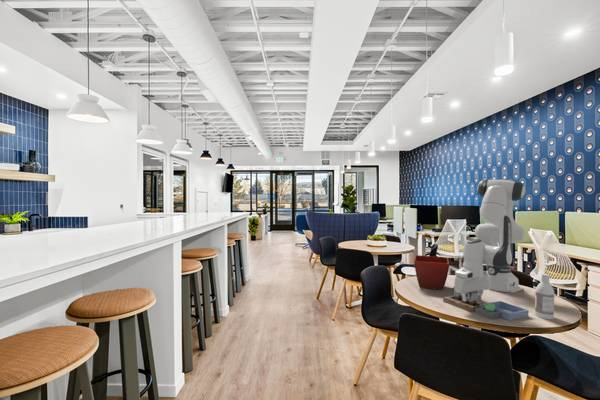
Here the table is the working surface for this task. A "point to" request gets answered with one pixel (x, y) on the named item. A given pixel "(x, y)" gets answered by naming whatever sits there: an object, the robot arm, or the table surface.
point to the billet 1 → (457, 295)
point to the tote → (510, 310)
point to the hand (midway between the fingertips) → (471, 299)
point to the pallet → (462, 303)
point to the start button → (490, 307)
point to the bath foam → (544, 298)
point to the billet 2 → (472, 298)
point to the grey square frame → (488, 313)
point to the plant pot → (431, 271)
